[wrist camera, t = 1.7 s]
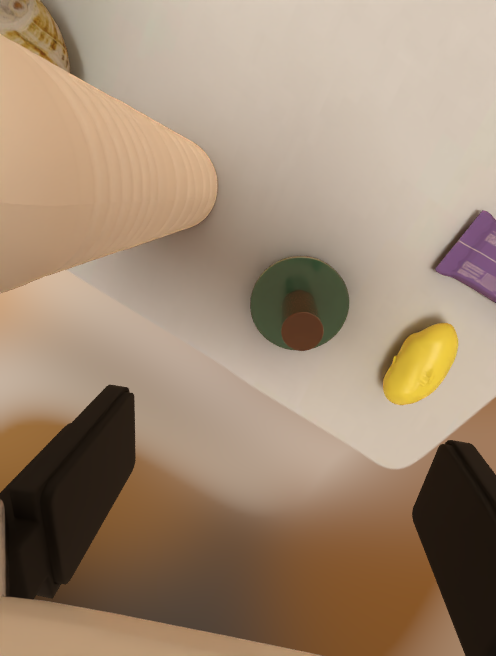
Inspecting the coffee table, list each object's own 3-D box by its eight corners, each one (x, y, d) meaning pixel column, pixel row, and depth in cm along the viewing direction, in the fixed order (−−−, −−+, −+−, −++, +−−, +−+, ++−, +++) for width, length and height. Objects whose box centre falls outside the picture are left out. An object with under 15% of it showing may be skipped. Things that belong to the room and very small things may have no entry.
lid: (246, 337, 30) (236, 374, 24) (258, 248, 27) (250, 264, 21) (334, 350, 29) (348, 392, 23) (357, 262, 26) (379, 282, 20)
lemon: (363, 378, 30) (374, 404, 26) (422, 306, 27) (443, 323, 23) (402, 399, 30) (418, 427, 27) (464, 330, 27) (491, 350, 24)
